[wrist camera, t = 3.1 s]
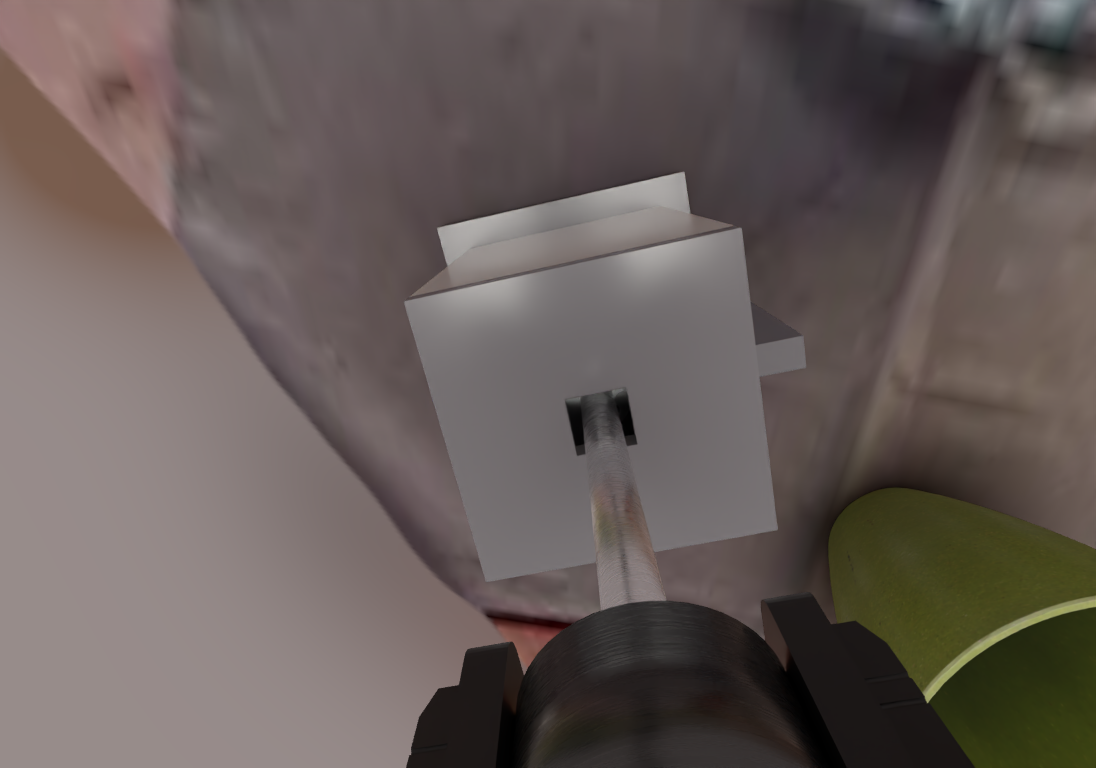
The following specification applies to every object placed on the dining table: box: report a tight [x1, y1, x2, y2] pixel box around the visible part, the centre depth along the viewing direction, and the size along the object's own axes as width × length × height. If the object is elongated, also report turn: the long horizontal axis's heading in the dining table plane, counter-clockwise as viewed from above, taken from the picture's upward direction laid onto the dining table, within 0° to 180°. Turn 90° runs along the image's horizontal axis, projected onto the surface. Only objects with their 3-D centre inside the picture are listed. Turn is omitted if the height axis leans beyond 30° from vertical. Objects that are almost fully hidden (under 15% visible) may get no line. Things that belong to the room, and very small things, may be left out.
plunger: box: [511, 387, 830, 768], centre depth 15 cm, size 8×8×19 cm
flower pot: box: [828, 487, 1096, 768], centre depth 32 cm, size 15×15×16 cm
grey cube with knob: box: [404, 172, 806, 582], centre depth 28 cm, size 13×14×16 cm
